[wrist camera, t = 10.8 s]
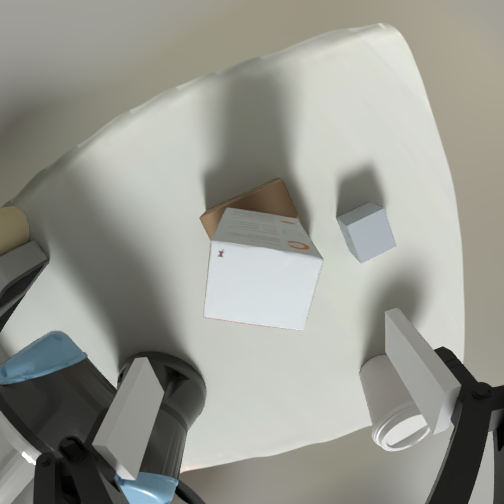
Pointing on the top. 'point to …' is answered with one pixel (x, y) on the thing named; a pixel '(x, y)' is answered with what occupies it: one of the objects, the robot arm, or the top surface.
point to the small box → (261, 270)
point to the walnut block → (254, 204)
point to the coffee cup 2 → (391, 406)
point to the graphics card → (18, 276)
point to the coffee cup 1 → (12, 229)
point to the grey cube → (366, 231)
